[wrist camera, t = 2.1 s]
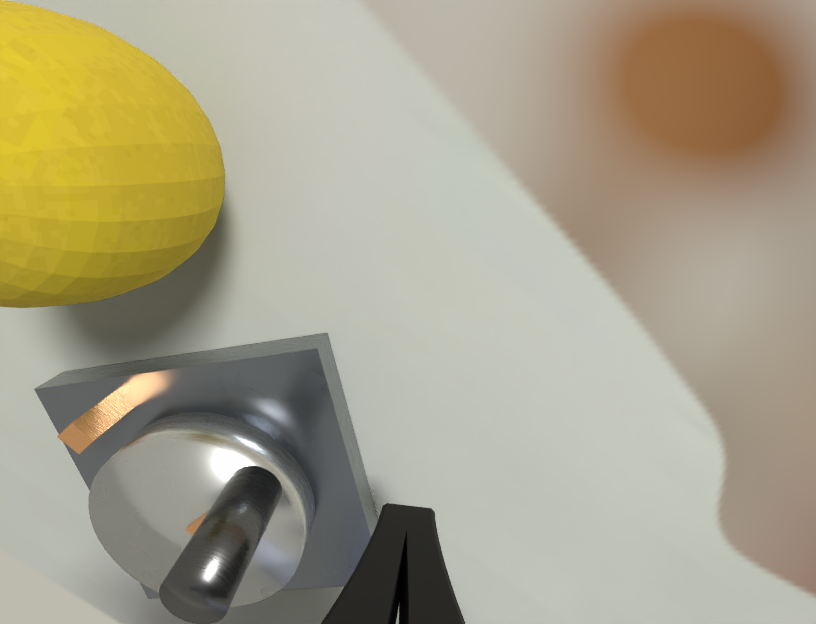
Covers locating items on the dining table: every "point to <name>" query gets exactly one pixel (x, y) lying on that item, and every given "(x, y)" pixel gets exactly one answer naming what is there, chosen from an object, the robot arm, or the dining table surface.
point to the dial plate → (246, 401)
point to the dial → (203, 513)
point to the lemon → (95, 163)
